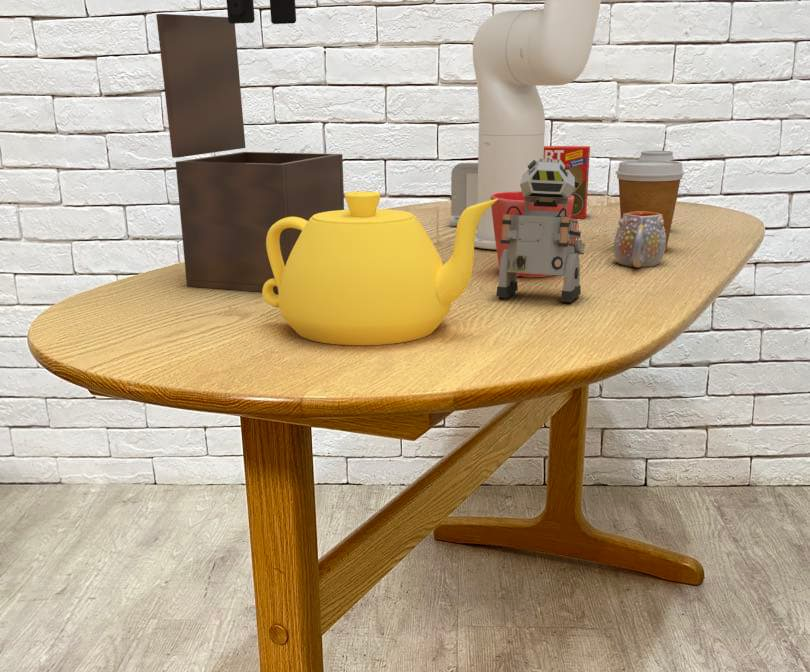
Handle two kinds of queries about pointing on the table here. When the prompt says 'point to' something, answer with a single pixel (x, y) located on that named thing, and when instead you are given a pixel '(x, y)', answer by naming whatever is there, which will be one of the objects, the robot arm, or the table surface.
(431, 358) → the table surface
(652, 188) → the disposable coffee cup
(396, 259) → the teapot
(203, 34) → the lid
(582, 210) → the toy box
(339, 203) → the case
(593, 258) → the table surface
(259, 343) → the table surface
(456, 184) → the handheld gaming console
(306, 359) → the table surface
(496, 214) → the flower pot
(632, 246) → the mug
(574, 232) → the figurine
